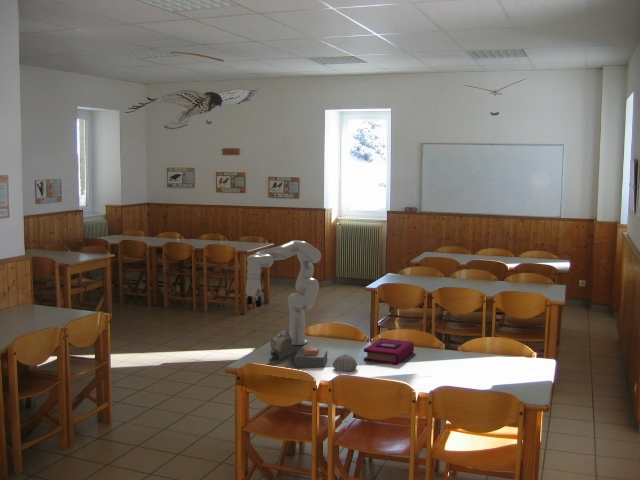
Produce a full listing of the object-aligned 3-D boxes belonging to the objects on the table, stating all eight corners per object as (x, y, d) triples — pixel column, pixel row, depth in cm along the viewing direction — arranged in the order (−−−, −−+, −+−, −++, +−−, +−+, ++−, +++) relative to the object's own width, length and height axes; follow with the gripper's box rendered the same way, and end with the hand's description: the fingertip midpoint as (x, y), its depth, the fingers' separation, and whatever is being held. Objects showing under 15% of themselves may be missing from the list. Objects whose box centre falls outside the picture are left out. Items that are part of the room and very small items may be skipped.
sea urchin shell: (336, 374, 355) (336, 359, 354) (329, 366, 368) (329, 352, 367) (360, 372, 358) (360, 357, 357) (352, 364, 371) (352, 350, 370)
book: (413, 353, 394) (414, 340, 394) (398, 366, 369) (398, 352, 369) (380, 349, 404) (380, 336, 403) (362, 361, 379) (362, 348, 378)
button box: (299, 358, 385) (299, 348, 384) (327, 359, 382) (327, 349, 382) (294, 366, 369) (294, 356, 368) (323, 367, 367) (323, 357, 366)
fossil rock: (281, 367, 380) (276, 343, 376) (266, 366, 384) (261, 342, 380) (295, 351, 398) (292, 327, 394) (281, 350, 402) (277, 326, 398)
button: (306, 352, 379) (306, 346, 379) (318, 352, 378) (318, 347, 378) (304, 355, 372) (304, 350, 372) (316, 355, 371) (316, 350, 371)
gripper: (240, 275, 393) (241, 303, 395) (256, 278, 379) (256, 308, 381) (251, 274, 397) (251, 302, 399) (267, 277, 384) (267, 307, 385)
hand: (254, 305), depth 390 cm, fingers open, 9 cm apart
